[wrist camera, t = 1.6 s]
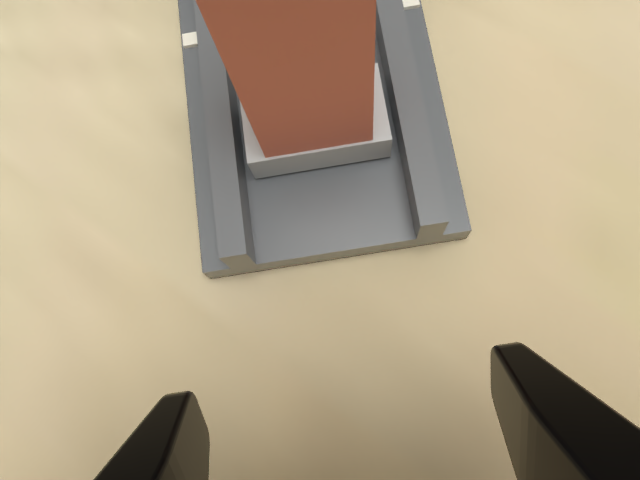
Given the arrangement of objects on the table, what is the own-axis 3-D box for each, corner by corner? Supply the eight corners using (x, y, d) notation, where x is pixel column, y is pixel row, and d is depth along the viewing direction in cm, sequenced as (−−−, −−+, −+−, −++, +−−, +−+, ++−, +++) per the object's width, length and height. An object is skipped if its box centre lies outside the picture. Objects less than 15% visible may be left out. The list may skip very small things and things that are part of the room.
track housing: (466, 238, 23) (487, 205, 18) (210, 278, 23) (177, 255, 19) (399, -68, 26) (405, -151, 22) (182, -29, 27) (149, -103, 23)
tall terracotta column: (390, 156, 22) (422, -154, 9) (255, 178, 22) (108, -95, 10) (376, 84, 23) (389, -290, 10) (246, 106, 23) (100, -233, 10)
